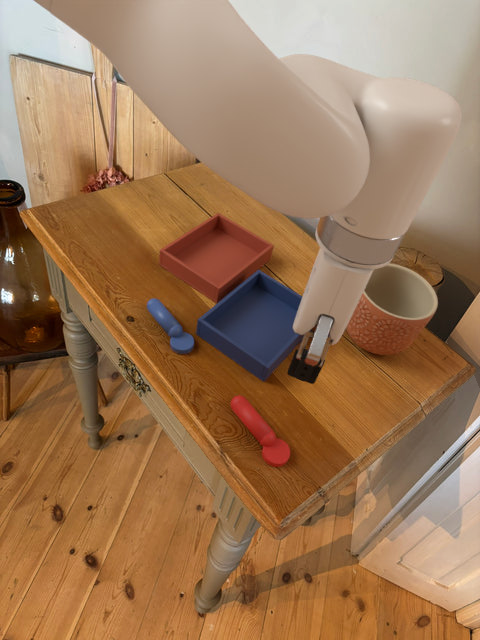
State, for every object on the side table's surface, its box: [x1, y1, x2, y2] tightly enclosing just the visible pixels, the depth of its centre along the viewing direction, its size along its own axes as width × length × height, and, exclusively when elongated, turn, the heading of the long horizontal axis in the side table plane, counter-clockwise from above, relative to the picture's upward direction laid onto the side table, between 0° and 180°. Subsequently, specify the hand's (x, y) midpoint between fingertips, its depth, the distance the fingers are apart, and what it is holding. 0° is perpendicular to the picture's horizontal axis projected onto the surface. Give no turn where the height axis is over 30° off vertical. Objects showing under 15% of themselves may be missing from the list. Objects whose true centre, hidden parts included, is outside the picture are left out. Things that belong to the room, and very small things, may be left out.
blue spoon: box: [146, 297, 195, 355], centre depth 71 cm, size 11×4×2 cm, turn 38°
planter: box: [345, 262, 439, 356], centre depth 74 cm, size 12×12×11 cm
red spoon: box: [230, 395, 291, 468], centre depth 62 cm, size 11×4×2 cm, turn 38°
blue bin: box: [195, 269, 317, 382], centre depth 74 cm, size 13×16×4 cm
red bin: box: [158, 212, 275, 304], centre depth 83 cm, size 13×16×4 cm
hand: (310, 346), depth 54 cm, fingers open, 9 cm apart
